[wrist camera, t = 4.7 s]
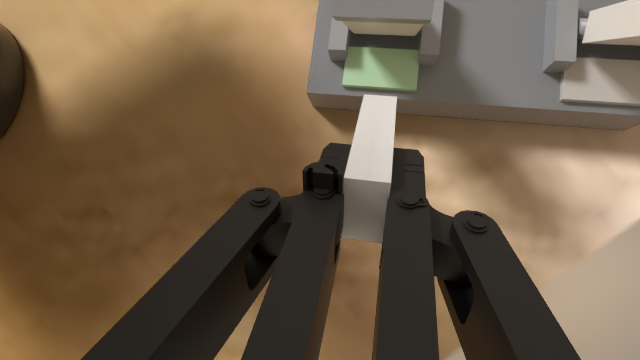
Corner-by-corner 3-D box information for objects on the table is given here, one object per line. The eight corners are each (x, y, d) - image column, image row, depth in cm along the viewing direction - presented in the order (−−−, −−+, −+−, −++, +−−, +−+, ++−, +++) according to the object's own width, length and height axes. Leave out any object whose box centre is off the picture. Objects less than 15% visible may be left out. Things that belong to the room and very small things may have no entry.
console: (313, 106, 29) (302, 83, 24) (334, -54, 31) (328, -104, 26) (633, 130, 25) (689, 108, 21) (636, -53, 27) (689, -110, 23)
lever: (352, 36, 26) (329, 16, 16) (355, 5, 25) (332, -37, 15) (416, 39, 25) (434, 19, 15) (420, 7, 25) (441, -35, 14)
